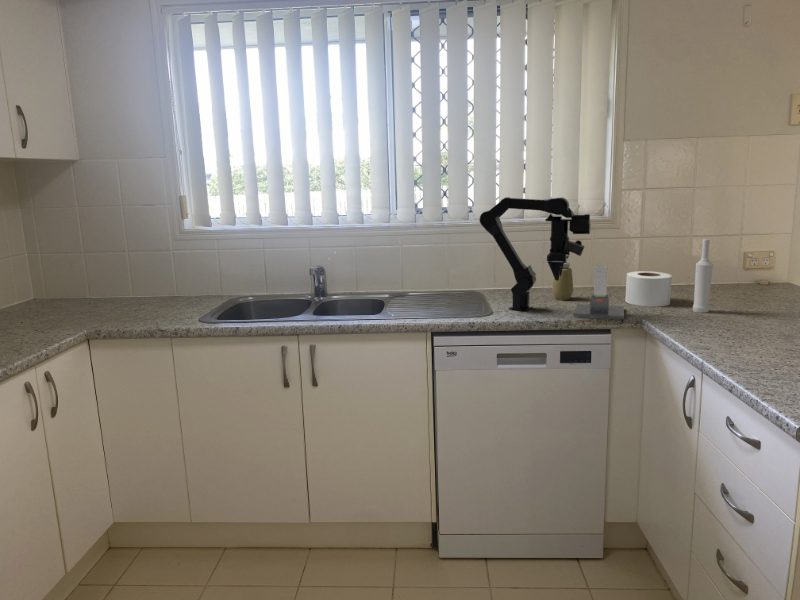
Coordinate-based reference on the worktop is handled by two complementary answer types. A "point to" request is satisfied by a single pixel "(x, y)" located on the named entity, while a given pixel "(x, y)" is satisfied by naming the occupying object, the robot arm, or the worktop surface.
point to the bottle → (703, 281)
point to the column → (600, 281)
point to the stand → (599, 309)
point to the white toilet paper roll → (648, 288)
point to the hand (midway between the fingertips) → (558, 278)
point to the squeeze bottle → (563, 284)
